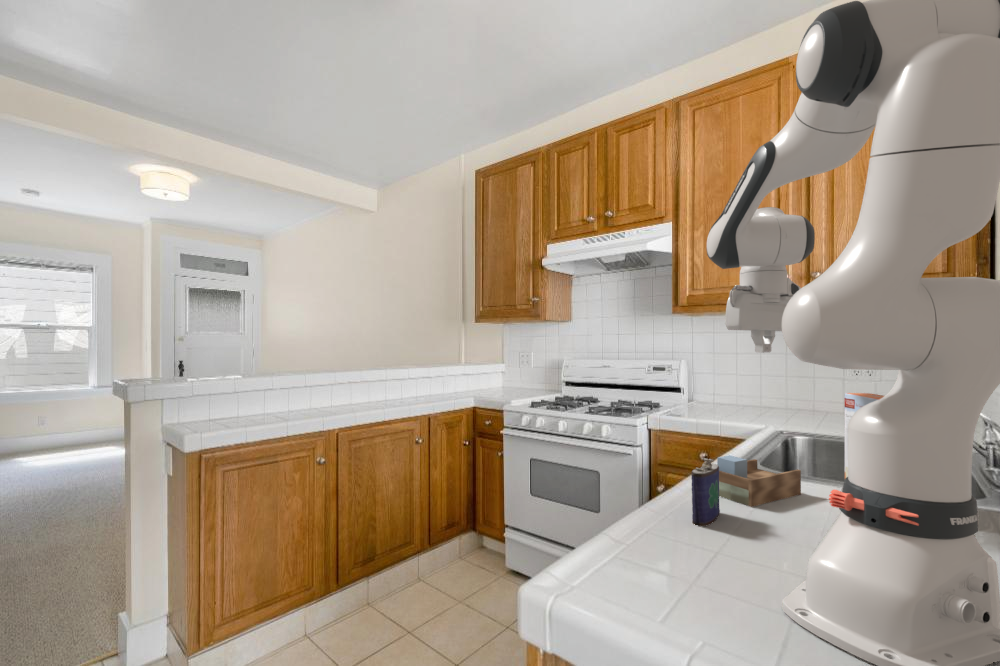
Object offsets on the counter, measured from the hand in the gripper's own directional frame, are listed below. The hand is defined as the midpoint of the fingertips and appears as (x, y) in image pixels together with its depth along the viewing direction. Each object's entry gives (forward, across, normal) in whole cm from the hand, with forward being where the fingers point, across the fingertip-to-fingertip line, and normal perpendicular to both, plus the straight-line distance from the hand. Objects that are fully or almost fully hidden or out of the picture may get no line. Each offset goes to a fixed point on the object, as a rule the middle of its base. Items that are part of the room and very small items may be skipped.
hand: (763, 352), depth 100 cm
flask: (+29, -24, -5) cm, 38 cm away
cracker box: (+29, +13, -15) cm, 35 cm away
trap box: (+29, -4, 0) cm, 29 cm away
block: (+26, -7, +2) cm, 27 cm away
